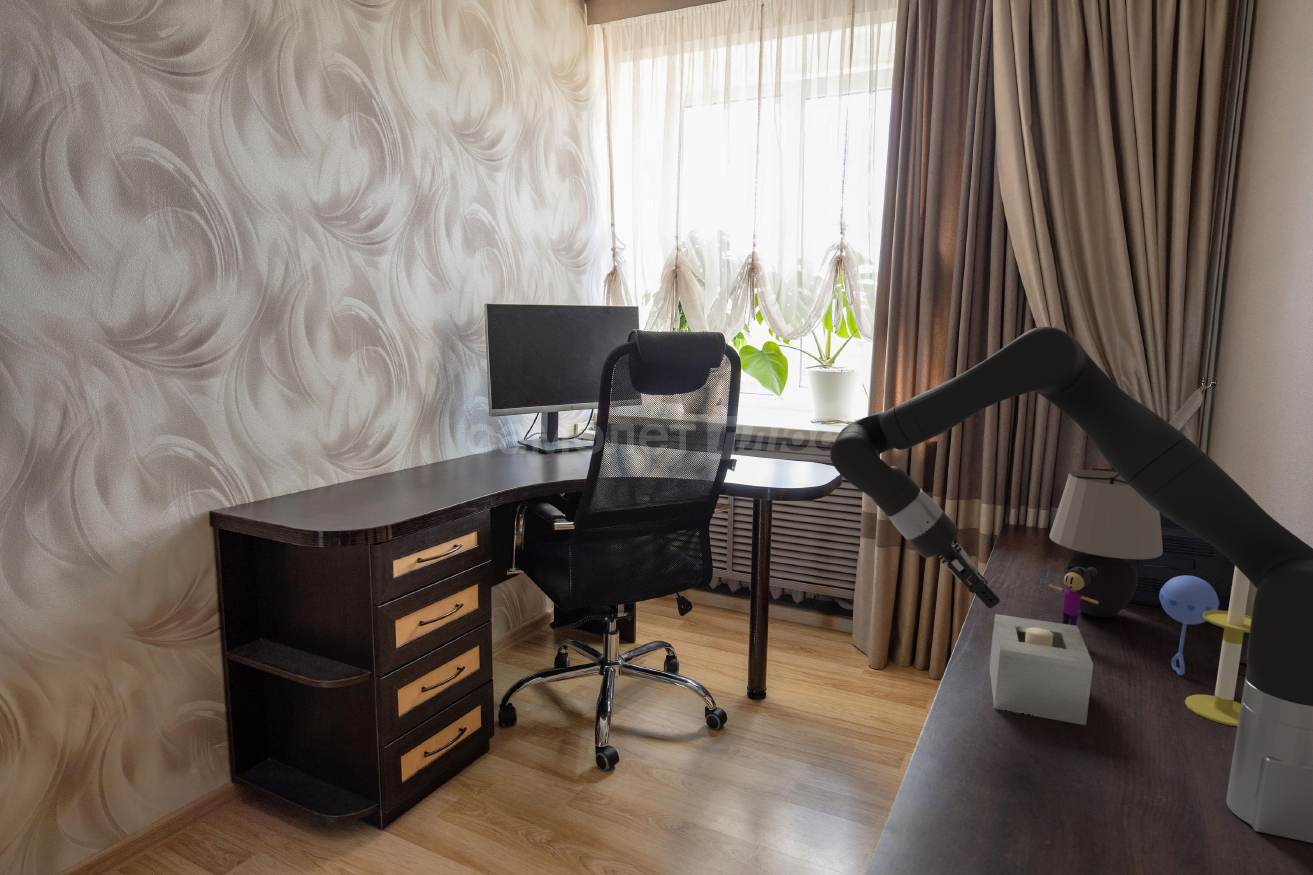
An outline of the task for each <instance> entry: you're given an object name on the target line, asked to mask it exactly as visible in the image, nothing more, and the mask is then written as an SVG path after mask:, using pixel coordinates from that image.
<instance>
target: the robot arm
mask: <svg viewBox="0 0 1313 875" xmlns="http://www.w3.org/2000/svg"><path fill="white" fill-rule="evenodd" d="M1031 392H1034V393H1037V394H1039V395H1040V396H1041V397H1044V398H1045V399H1046V400H1047V401H1048V402H1050V403H1051V404H1052V405H1054V406H1055V407H1057V409H1059V410H1060V411H1062V412H1063V413H1064V414H1065V415H1067V416H1068V417H1069V418H1070V419H1071V420H1072V421H1073V422H1075V423H1076V424H1077V425H1078V426H1079V427H1080V428H1081V429H1082V431H1083V432H1084V433H1085V434H1086V435H1087V436H1088V437H1089V439H1090V440H1091V442H1092V444H1093V445H1094V446H1095V447H1096V448H1097V450H1098V451H1099V453H1100V454H1101V455H1102V456H1103V457H1104V459H1105V460H1106V461H1107V462H1108V464H1109V465H1110V466H1111V467H1112V469H1113V470H1114V472H1117V473H1118V474H1119V475H1120V476H1121V477H1122V478H1123V479H1124V480H1125V481H1126V482H1127V483H1129V485H1130V486H1131V487H1132V488H1133V489H1134V490H1135V491H1136V492H1137V493H1138V494H1139V495H1140V496H1141V497H1143V498H1144V499H1145V500H1146V501H1147V502H1148V503H1149V504H1150V505H1151V506H1153V507H1154V508H1155V509H1156V510H1157V511H1159V512H1160V515H1162V516H1164V517H1166V518H1167V519H1169V520H1170V521H1172V522H1173V523H1175V524H1176V525H1178V526H1180V527H1182V528H1183V529H1185V530H1186V531H1188V532H1190V533H1192V534H1193V535H1195V536H1197V537H1198V538H1199V539H1201V540H1203V541H1205V542H1206V543H1208V544H1210V545H1211V546H1213V547H1214V548H1215V549H1216V550H1218V551H1219V552H1220V553H1221V554H1222V555H1223V556H1225V557H1226V558H1227V560H1229V561H1230V562H1231V563H1232V564H1233V565H1234V567H1235V566H1236V567H1237V568H1238V569H1239V570H1240V571H1241V572H1242V573H1243V574H1244V575H1245V576H1246V577H1247V578H1248V579H1249V581H1250V583H1251V584H1252V585H1253V586H1254V587H1255V589H1256V591H1255V596H1254V600H1253V604H1252V612H1251V617H1252V618H1251V626H1250V633H1248V634H1249V635H1248V643H1247V649H1246V670H1245V675H1244V676H1245V677H1244V684H1243V690H1242V697H1241V703H1240V704H1241V708H1240V714H1239V721H1238V727H1237V726H1236V727H1237V728H1236V734H1235V741H1234V748H1233V753H1232V761H1231V765H1230V772H1229V779H1228V787H1227V793H1226V801H1225V802H1226V805H1227V807H1228V809H1229V810H1230V811H1231V812H1232V813H1233V814H1234V815H1236V816H1237V817H1238V818H1239V819H1240V820H1242V821H1244V822H1246V823H1247V824H1249V825H1250V826H1251V827H1252V829H1253V831H1255V832H1257V833H1264V834H1267V835H1268V834H1269V835H1272V836H1278V837H1282V838H1287V839H1293V840H1297V841H1301V842H1307V843H1311V844H1313V547H1311V546H1310V545H1309V544H1308V543H1306V542H1305V541H1303V540H1302V539H1301V538H1299V537H1298V536H1297V535H1296V534H1294V533H1292V532H1291V531H1289V529H1287V528H1286V527H1285V526H1283V525H1282V524H1281V523H1279V522H1278V521H1277V520H1276V519H1274V518H1273V517H1272V516H1271V515H1270V514H1268V513H1267V512H1266V511H1265V510H1264V509H1263V508H1262V507H1261V506H1260V505H1259V504H1258V503H1257V502H1256V500H1254V498H1252V497H1251V496H1250V495H1249V494H1248V492H1247V491H1245V490H1244V488H1242V486H1240V484H1238V483H1237V481H1235V480H1234V478H1232V477H1231V476H1230V475H1229V474H1228V473H1227V472H1226V471H1225V470H1224V469H1223V468H1221V467H1220V465H1218V464H1217V463H1216V462H1215V461H1214V460H1213V459H1212V458H1211V457H1210V456H1209V455H1208V454H1206V453H1205V452H1204V451H1203V450H1202V449H1201V448H1200V447H1198V445H1196V444H1195V443H1194V442H1193V441H1192V440H1191V439H1190V438H1188V437H1187V436H1186V435H1185V434H1184V433H1182V432H1181V431H1180V430H1179V429H1177V428H1176V427H1175V426H1173V424H1171V423H1170V422H1168V420H1166V419H1164V418H1162V417H1161V416H1160V415H1159V414H1157V413H1156V412H1154V411H1153V410H1151V409H1150V408H1148V407H1147V406H1146V405H1144V404H1143V403H1141V402H1139V401H1138V400H1136V399H1134V398H1133V397H1132V396H1130V395H1129V394H1127V392H1125V391H1124V390H1122V389H1121V388H1120V387H1119V386H1118V385H1117V384H1116V383H1115V382H1114V381H1113V380H1112V379H1111V378H1110V377H1109V376H1108V374H1106V373H1105V372H1104V371H1103V369H1101V368H1100V366H1099V365H1098V364H1097V363H1096V362H1095V361H1094V360H1093V359H1092V357H1091V356H1090V355H1089V354H1088V353H1087V352H1086V350H1085V349H1084V348H1083V346H1082V345H1081V344H1080V342H1078V341H1077V339H1075V338H1074V337H1073V336H1071V335H1070V334H1069V333H1068V332H1066V331H1064V330H1062V329H1060V328H1057V327H1053V326H1039V327H1035V328H1032V329H1031V328H1030V330H1028V331H1026V332H1024V333H1022V334H1021V335H1019V336H1018V337H1017V338H1015V339H1014V340H1012V341H1011V342H1009V343H1008V344H1006V345H1005V346H1004V347H1002V348H1001V349H999V350H998V351H996V352H995V353H993V354H992V355H991V356H989V357H988V358H986V359H984V360H983V361H982V362H979V363H978V364H976V365H974V366H973V367H971V368H970V369H968V370H966V371H964V372H962V373H961V374H959V375H957V376H955V377H953V378H950V379H949V380H948V381H947V380H946V381H945V382H943V383H941V384H939V385H937V386H934V387H933V388H930V389H929V390H926V391H924V392H922V393H919V394H917V395H916V396H913V397H911V398H910V399H907V400H905V401H903V402H900V403H898V404H897V405H894V406H892V407H891V408H889V409H888V410H887V409H886V410H885V411H881V412H877V413H874V414H871V415H868V416H864V417H862V418H859V419H857V420H854V421H852V422H851V423H849V424H847V425H846V426H845V427H843V428H842V429H841V430H840V432H839V433H838V435H837V436H836V438H835V440H834V442H833V443H832V445H831V447H830V450H829V455H830V461H831V462H832V466H834V468H835V470H836V471H837V472H838V473H839V475H840V476H841V477H842V478H843V479H844V480H845V481H847V482H848V483H850V484H851V485H853V486H854V488H857V490H859V491H860V492H862V493H864V494H865V495H866V496H868V497H870V498H871V499H872V501H873V502H874V503H875V504H876V505H877V506H878V507H879V509H880V510H881V511H882V512H883V513H884V514H885V515H886V516H887V517H888V519H889V520H890V521H891V522H892V525H893V526H894V527H895V528H896V530H897V531H898V532H899V533H900V534H901V535H902V536H903V537H904V539H905V540H906V541H907V542H908V543H909V544H910V545H911V546H912V548H914V549H915V551H916V552H918V553H919V555H920V556H921V557H922V558H926V559H927V558H933V557H935V556H936V555H940V556H938V558H939V560H940V561H941V564H942V565H943V566H944V567H945V568H946V569H947V570H948V571H950V572H951V573H952V574H953V575H954V578H956V579H957V580H958V582H960V583H963V585H965V587H966V588H967V589H968V591H969V593H972V594H974V595H976V597H978V598H979V599H980V600H981V602H982V603H983V604H984V605H985V606H986V607H987V608H988V609H992V608H994V607H995V606H996V605H998V604H999V603H1000V601H1001V600H1000V598H999V597H998V595H996V594H995V592H994V591H993V590H992V589H991V588H990V587H989V586H988V580H986V578H985V577H984V576H983V575H982V574H981V572H979V571H978V568H977V566H976V565H975V564H974V563H973V562H972V560H971V559H970V558H971V557H970V556H969V555H968V554H967V552H966V551H965V549H964V548H963V546H961V544H960V543H958V542H957V543H954V541H955V540H956V539H957V538H958V535H959V532H960V530H959V527H958V526H957V524H956V523H955V522H954V521H953V519H951V518H950V517H949V516H948V514H947V513H946V512H945V511H944V510H943V509H942V508H941V507H940V505H939V504H937V503H936V501H935V500H934V499H933V498H932V497H930V495H928V494H927V493H926V492H925V491H924V490H923V489H922V488H920V486H919V484H917V483H916V482H915V481H914V480H913V478H911V477H910V476H909V474H908V473H907V472H906V471H905V470H904V469H902V468H901V467H899V466H896V465H892V466H891V465H889V464H887V463H886V462H885V461H884V460H883V459H882V458H880V457H879V455H881V454H882V453H885V452H888V451H891V450H893V449H895V450H900V451H902V450H907V449H911V448H913V447H915V446H917V445H920V444H922V443H924V442H927V441H929V440H932V439H934V438H935V437H937V436H940V435H942V434H943V433H946V432H947V431H949V430H951V429H953V428H955V427H956V426H958V425H959V424H960V423H963V421H965V420H967V419H969V418H970V417H972V416H974V415H975V414H977V413H979V412H981V411H982V410H984V409H986V408H989V407H990V406H993V405H995V404H998V403H1000V402H1002V401H1006V400H1007V399H1008V400H1009V399H1011V398H1014V397H1018V396H1022V395H1025V394H1028V393H1031Z"/></svg>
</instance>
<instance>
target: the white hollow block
mask: <svg viewBox="0 0 1313 875" xmlns="http://www.w3.org/2000/svg"><path fill="white" fill-rule="evenodd" d="M1033 627H1034V628H1042V629H1045V630H1048V631H1050V632H1052V633H1053V642H1052V647H1050V646H1043V645H1037V644H1030V643H1025V636H1026V629H1027V628H1033ZM1093 670H1094V663H1093V661H1092V658H1091V655H1090V653H1089V650H1088V648H1087V646H1086V644H1085V641H1084V639H1083V637H1082V633H1081V631H1080V629H1079V626H1078V625H1076V626H1074V625H1070V624H1069V625H1067V624H1062V623H1060V622H1055V621H1054V622H1052V621H1046V620H1039V619H1033V618H1032V619H1031V618H1025V617H1024V618H1023V617H1018V616H1011V615H1006V614H1005V615H1004V614H997V613H995V614H994V618H993V629H992V638H991V650H990V660H989V674H990V683H991V684H990V685H991V692H992V693H991V694H992V701H993V708H994V709H995V710H1000V711H1005V710H1007V711H1006V712H1010V711H1011V713H1016V714H1021V713H1024V714H1023V715H1027V714H1030V715H1029V716H1032V715H1033V716H1032V717H1038V718H1045V719H1050V720H1053V721H1054V720H1055V721H1060V722H1066V723H1071V724H1075V725H1076V724H1077V725H1081V726H1087V721H1088V720H1087V719H1088V713H1089V712H1088V710H1089V702H1090V693H1091V685H1092V677H1093Z"/></svg>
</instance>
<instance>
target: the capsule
mask: <svg viewBox="0 0 1313 875" xmlns="http://www.w3.org/2000/svg"><path fill="white" fill-rule="evenodd" d="M1052 642H1053V633H1052V632H1050V631H1048V630H1045V629H1042V628H1034V627H1033V628H1027V629H1026V636H1025V643H1030V644H1037V645H1043V646H1050V647H1052Z"/></svg>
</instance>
